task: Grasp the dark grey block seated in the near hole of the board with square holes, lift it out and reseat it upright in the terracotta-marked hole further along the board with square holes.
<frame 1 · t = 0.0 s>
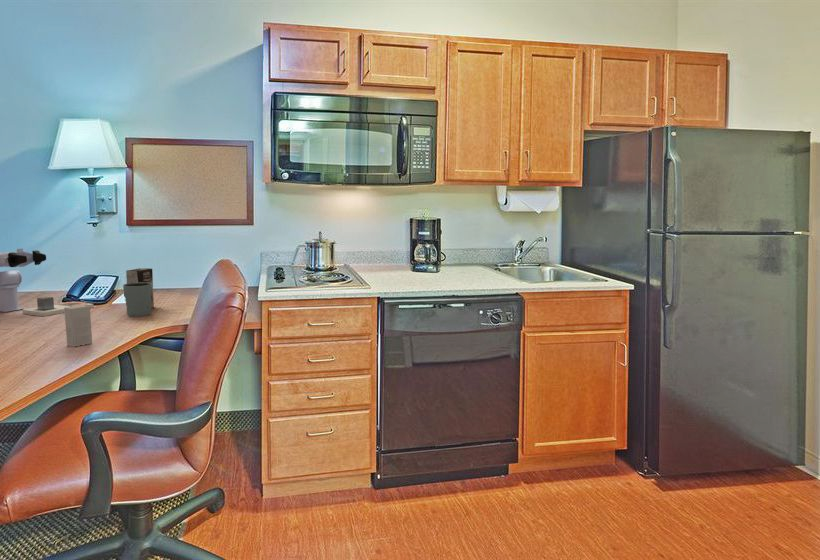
hand: (35, 258, 248), 22 cm above the table, tool horizontal, fingers open, 7 cm apart
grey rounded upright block: (138, 315, 252), on the table
dark grey block: (46, 312, 254), resting in board with square holes
coffee box: (141, 309, 266), on the table
skincare box: (79, 345, 203), on the table
board with square holes: (59, 310, 259), on the table
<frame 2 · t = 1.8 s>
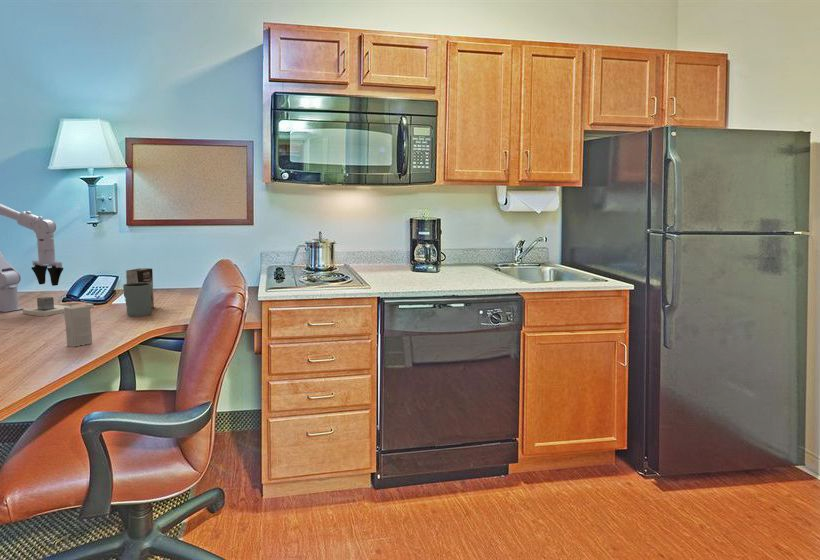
hand: (48, 284, 257), 10 cm above the table, tool pointing down, fingers open, 7 cm apart
nothing on the table moved.
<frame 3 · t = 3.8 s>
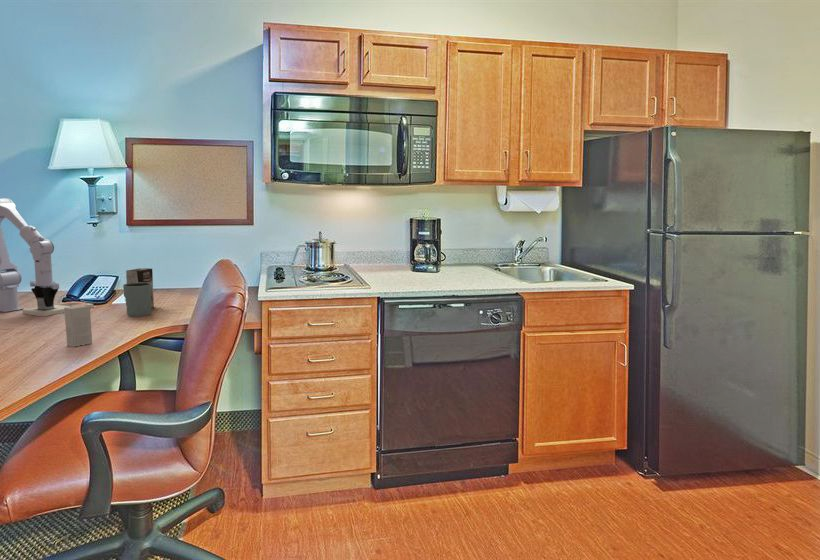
hand: (45, 306, 254), 3 cm above the table, tool pointing down, fingers closed on dark grey block, 4 cm apart
dark grey block: (46, 312, 254), resting in board with square holes, touching gripper
everything else where it was.
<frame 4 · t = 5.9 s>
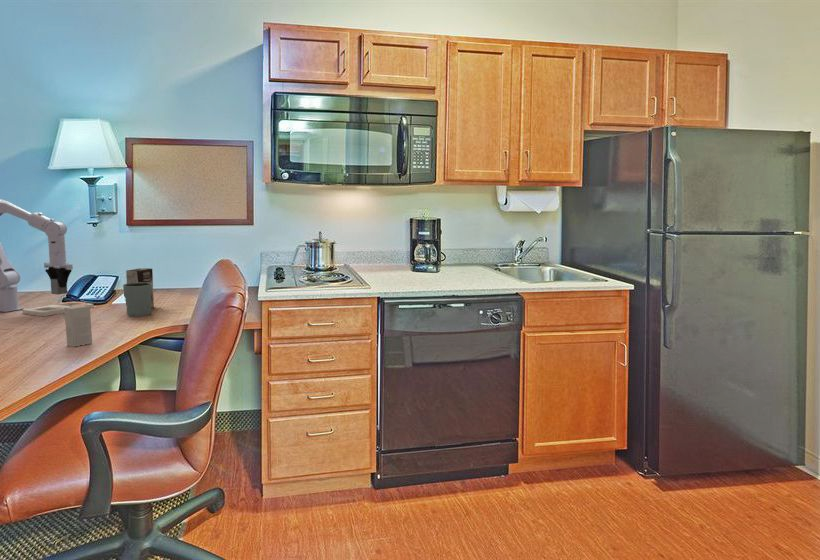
hand: (59, 286, 258), 9 cm above the table, tool pointing down, fingers closed on dark grey block, 4 cm apart
dark grey block: (59, 293, 259), point 7 cm above the table, touching gripper
everything else where it was.
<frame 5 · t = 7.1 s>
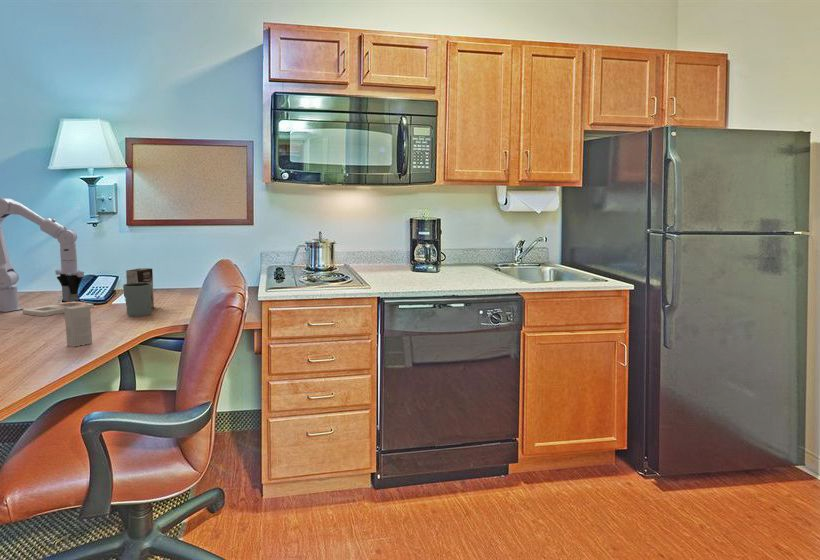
hand: (70, 293, 263), 6 cm above the table, tool pointing down, fingers closed on dark grey block, 4 cm apart
dark grey block: (70, 300, 263), point 3 cm above the table, touching gripper
everything else where it was.
when the fingers open (4 cm above the table, at t = 8.1 s): dark grey block stays where it is, resting in board with square holes.
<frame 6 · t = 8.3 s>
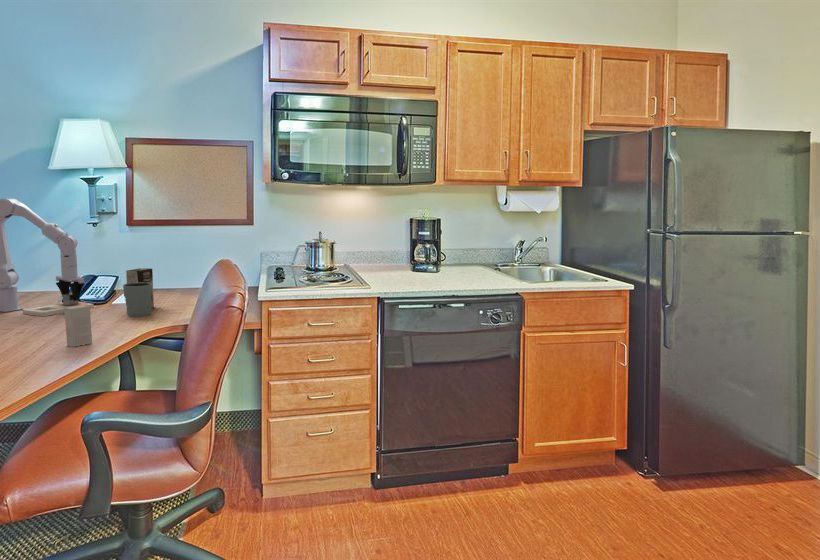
hand: (71, 299, 263), 4 cm above the table, tool pointing down, fingers open, 6 cm apart
dark grey block: (71, 308, 264), resting in board with square holes
everything else where it was.
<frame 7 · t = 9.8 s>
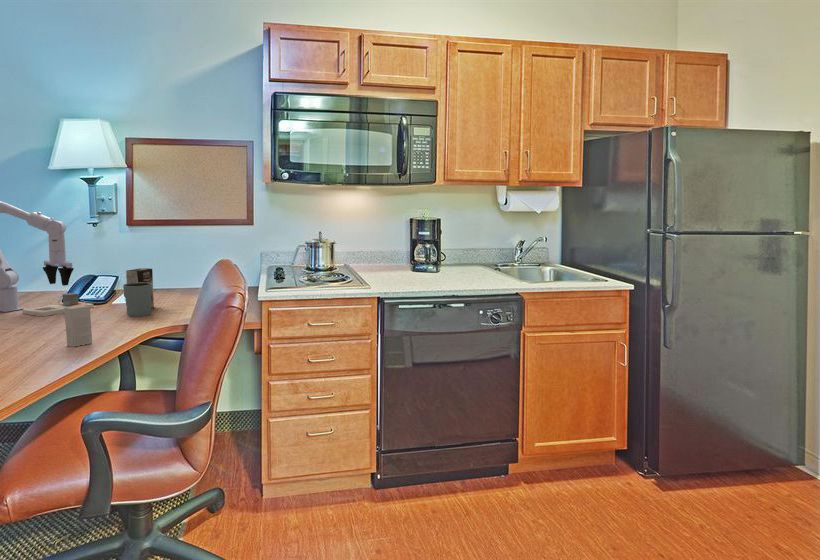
hand: (58, 284, 262), 10 cm above the table, tool pointing down, fingers open, 7 cm apart
nothing on the table moved.
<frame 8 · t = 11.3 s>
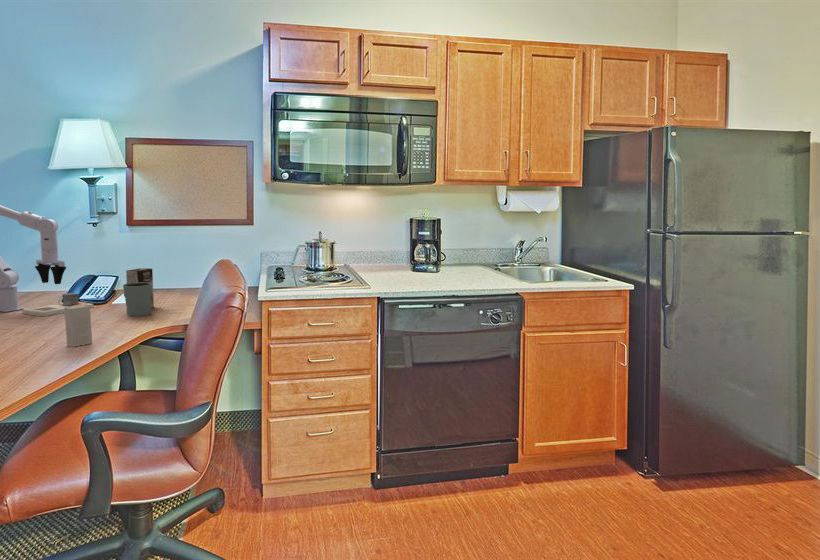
hand: (51, 283, 261), 10 cm above the table, tool pointing down, fingers open, 7 cm apart
nothing on the table moved.
at the end: dark grey block 0.2 cm from the target spot on the board with square holes, point 0.0 cm above the board with square holes's base; dark grey block tilted 0°; the gripper is holding nothing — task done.
